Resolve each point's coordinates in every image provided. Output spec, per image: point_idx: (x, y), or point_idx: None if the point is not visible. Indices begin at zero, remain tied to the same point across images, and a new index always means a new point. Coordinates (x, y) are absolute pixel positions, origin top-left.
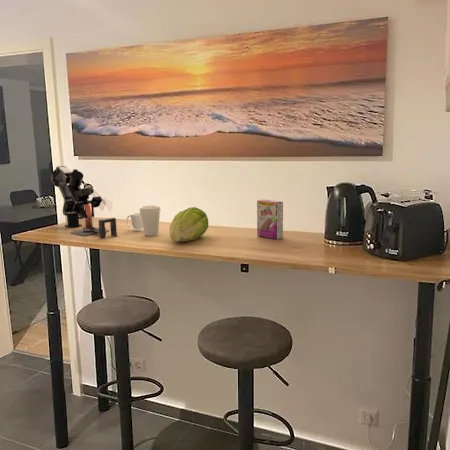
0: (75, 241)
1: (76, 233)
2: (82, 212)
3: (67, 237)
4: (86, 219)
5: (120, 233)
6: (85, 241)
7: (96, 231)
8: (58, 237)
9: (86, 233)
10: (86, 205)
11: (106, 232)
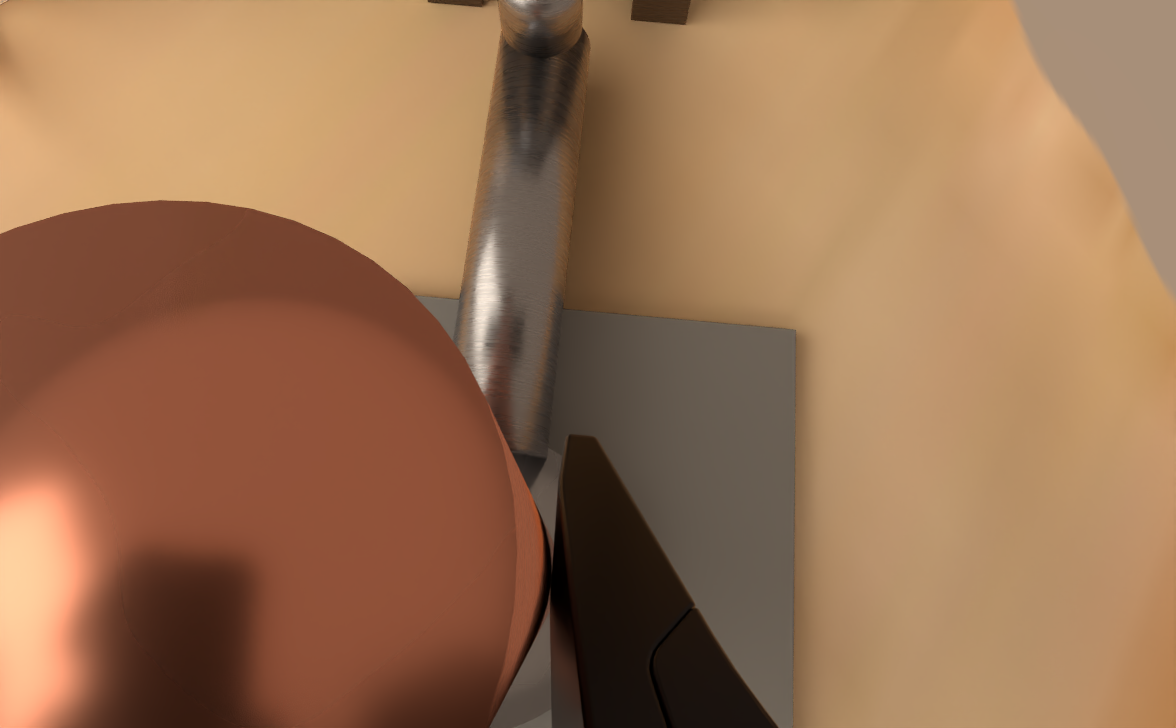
0: (1057, 135)
1: (789, 597)
2: (683, 606)
3: (1032, 504)
4: (547, 532)
5: (291, 9)
6: (948, 21)
7: (572, 209)
8: (1164, 665)
9: (662, 419)
10: (459, 353)
11: (500, 40)
